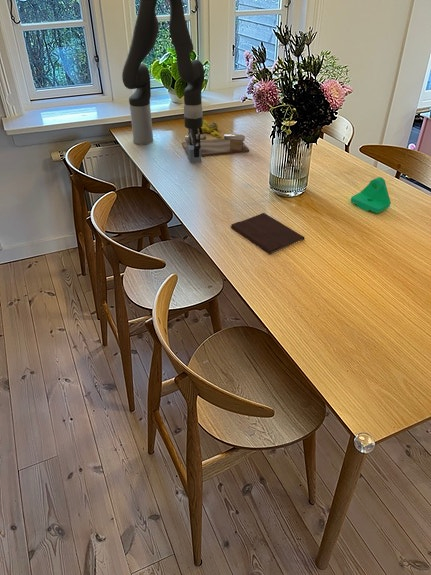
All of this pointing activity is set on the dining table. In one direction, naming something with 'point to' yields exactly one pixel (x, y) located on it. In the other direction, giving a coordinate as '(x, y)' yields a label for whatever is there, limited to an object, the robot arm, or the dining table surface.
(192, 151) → the block
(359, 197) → the green triangle
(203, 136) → the shaft
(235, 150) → the base board
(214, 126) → the sprinkler
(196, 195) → the dining table surface
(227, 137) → the shaft
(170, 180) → the dining table surface
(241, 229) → the notebook
